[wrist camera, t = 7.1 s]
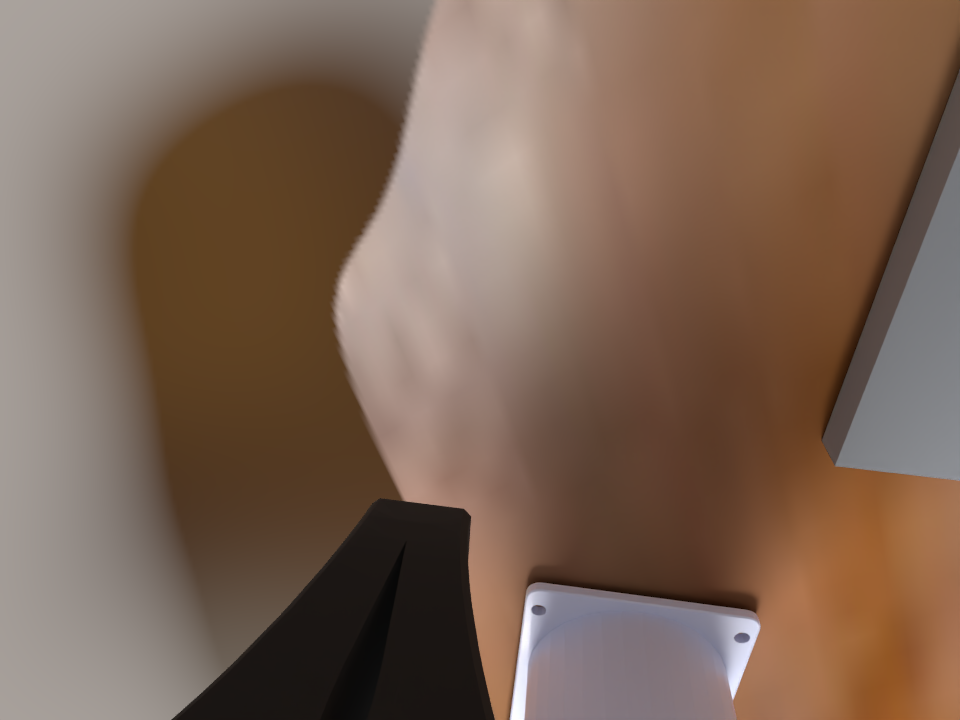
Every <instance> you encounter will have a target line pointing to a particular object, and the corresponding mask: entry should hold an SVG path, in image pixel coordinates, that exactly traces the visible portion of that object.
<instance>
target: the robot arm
mask: <svg viewBox="0 0 960 720" xmlns="http://www.w3.org/2000/svg"><path fill="white" fill-rule="evenodd" d="M470 525H471V516H470V515H469V514H468V513H467V512H466V511H465V510H464V509H460V508H452V507H445V506H437V505H429V504H421V503H413V502H405V501H396V500H389V499H381V498H380V499H378V500H377V501H375V502H374V503H372V505H371V506H370V508H369V509H368V510H367V512H366V513H365V515H364V516H363V517H362V519H361V520H360V521H359V523H358V524H357V525H356V527H355V528H354V529H353V530H352V532H351V533H350V534H349V536H348V537H347V538H346V540H345V541H344V542H343V543H342V544H341V546H340V547H339V548H338V549H337V551H336V552H335V553H334V554H333V555H332V557H331V558H330V559H329V560H328V562H327V563H326V564H325V565H324V566H323V568H322V569H321V570H320V571H319V572H318V573H317V574H316V576H315V577H314V578H313V579H312V580H311V581H310V582H309V583H308V585H307V586H306V587H305V588H304V589H303V591H302V592H301V593H300V594H299V595H298V596H297V597H296V598H295V599H294V600H293V602H292V603H291V604H290V605H289V606H288V607H287V608H286V609H285V610H284V612H283V613H282V614H281V615H280V616H279V617H278V618H277V619H276V620H275V621H274V622H273V623H272V624H271V625H270V626H269V627H268V628H267V629H266V630H265V631H264V632H263V633H262V634H261V635H260V637H258V638H257V640H255V642H254V643H253V644H252V645H251V646H250V647H249V648H248V649H247V650H246V651H245V652H244V653H243V654H242V655H241V656H240V657H239V658H238V659H237V660H236V661H235V662H234V663H233V664H232V665H231V666H230V667H229V668H228V669H227V670H226V671H225V672H224V673H222V674H221V675H220V676H219V677H218V678H217V679H216V680H215V681H214V682H213V683H212V684H211V685H210V686H209V687H208V688H206V689H205V690H204V691H203V692H202V693H201V694H200V695H199V696H198V697H197V698H196V699H194V700H193V701H192V702H191V703H190V704H189V705H188V706H187V707H185V708H184V709H183V710H182V711H181V712H180V713H179V714H177V715H176V716H175V717H174V718H173V719H172V720H495V719H494V715H493V711H492V707H491V703H490V698H489V694H488V690H487V685H486V681H485V676H484V672H483V667H482V662H481V657H480V652H479V647H478V641H477V634H476V628H475V622H474V615H473V609H472V602H471V594H470V584H469V570H468V554H469V539H470ZM535 605H541V606H542V607H538V606H535ZM759 631H760V621H759V618H758V616H757V614H755V613H754V612H753V611H749V610H745V609H737V608H730V607H722V606H715V605H707V604H700V603H692V602H685V601H677V600H670V599H662V598H655V597H647V596H640V595H632V594H625V593H617V592H610V591H602V590H595V589H587V588H580V587H572V586H565V585H557V584H550V583H542V582H538V583H534V584H531V585H530V586H529V587H528V588H527V590H526V597H525V605H524V613H523V620H522V628H521V636H520V643H519V651H518V659H517V667H516V674H515V682H514V690H513V697H512V705H511V713H510V720H737V718H736V713H735V709H734V704H733V699H734V697H735V694H736V691H737V689H738V686H739V683H740V681H741V678H742V676H743V673H744V670H745V668H746V665H747V662H748V660H749V657H750V655H751V652H752V649H753V647H754V644H755V641H756V639H757V636H758V634H759ZM738 633H742V634H738Z"/></svg>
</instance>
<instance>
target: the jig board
mask: <svg viewBox="0 0 960 720" xmlns="http://www.w3.org/2000/svg"><path fill="white" fill-rule="evenodd" d="M822 442H823V444H824V446H825V448H826V450H827V452H828V454H829V456H830V458H831V459H832V461H833V463H834V465H835V466H839V467H848V468H856V469H865V470H873V471H882V472H890V473H899V474H908V475H916V476H925V477H933V478H942V479H950V480H959V481H960V70H959V73H958V76H957V78H956V81H955V84H954V86H953V89H952V92H951V94H950V97H949V100H948V103H947V105H946V108H945V111H944V113H943V116H942V119H941V121H940V124H939V127H938V129H937V132H936V135H935V137H934V140H933V143H932V146H931V148H930V151H929V154H928V156H927V159H926V162H925V164H924V167H923V170H922V172H921V175H920V178H919V180H918V183H917V186H916V189H915V191H914V194H913V197H912V199H911V202H910V205H909V207H908V210H907V213H906V215H905V218H904V221H903V224H902V226H901V229H900V232H899V234H898V237H897V240H896V242H895V245H894V248H893V250H892V253H891V256H890V258H889V261H888V264H887V267H886V269H885V272H884V275H883V277H882V280H881V283H880V285H879V288H878V291H877V293H876V296H875V299H874V301H873V304H872V307H871V310H870V312H869V315H868V318H867V320H866V323H865V326H864V328H863V331H862V334H861V336H860V339H859V342H858V345H857V347H856V350H855V353H854V355H853V358H852V361H851V363H850V366H849V369H848V371H847V374H846V377H845V379H844V382H843V385H842V388H841V390H840V393H839V396H838V398H837V401H836V404H835V406H834V409H833V412H832V414H831V417H830V420H829V423H828V425H827V428H826V431H825V433H824V436H823V439H822Z"/></svg>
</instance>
